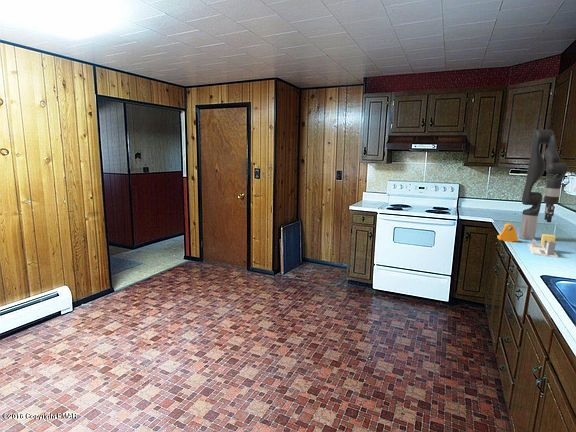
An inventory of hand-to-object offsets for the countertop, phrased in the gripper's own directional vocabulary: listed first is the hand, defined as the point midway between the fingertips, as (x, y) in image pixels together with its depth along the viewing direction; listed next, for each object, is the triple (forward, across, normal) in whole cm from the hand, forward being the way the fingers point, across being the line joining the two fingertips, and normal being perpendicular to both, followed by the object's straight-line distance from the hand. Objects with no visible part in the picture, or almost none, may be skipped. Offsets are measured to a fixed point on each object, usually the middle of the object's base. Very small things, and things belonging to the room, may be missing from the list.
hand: (547, 221), depth 218 cm
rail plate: (+17, -10, +2) cm, 20 cm away
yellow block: (+14, -8, 0) cm, 16 cm away
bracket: (+18, +10, +19) cm, 28 cm away
